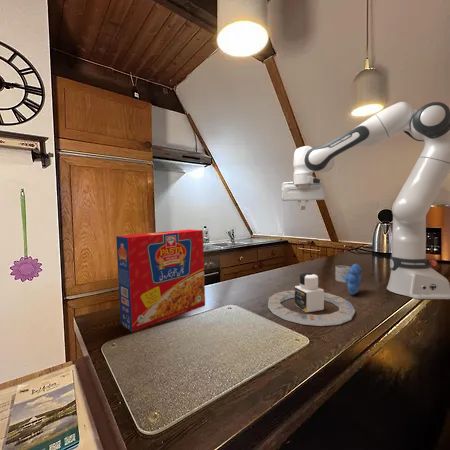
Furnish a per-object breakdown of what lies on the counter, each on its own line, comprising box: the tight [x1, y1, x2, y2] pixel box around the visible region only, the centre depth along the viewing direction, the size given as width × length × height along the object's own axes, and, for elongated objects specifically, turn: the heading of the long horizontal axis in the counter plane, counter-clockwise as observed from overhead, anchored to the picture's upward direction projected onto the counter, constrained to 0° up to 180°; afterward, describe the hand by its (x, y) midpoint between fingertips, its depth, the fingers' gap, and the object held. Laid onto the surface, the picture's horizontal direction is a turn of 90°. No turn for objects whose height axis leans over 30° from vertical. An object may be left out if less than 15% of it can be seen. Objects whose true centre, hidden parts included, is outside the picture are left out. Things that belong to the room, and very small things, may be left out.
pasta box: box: [115, 229, 206, 333], centre depth 85 cm, size 28×8×28 cm, turn 135°
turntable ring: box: [267, 289, 356, 327], centre depth 88 cm, size 28×28×2 cm
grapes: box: [343, 263, 363, 296], centre depth 102 cm, size 12×7×12 cm, turn 137°
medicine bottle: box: [294, 272, 325, 313], centre depth 88 cm, size 7×7×12 cm
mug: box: [334, 264, 351, 284], centre depth 121 cm, size 10×7×7 cm
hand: (303, 209), depth 122 cm, fingers closed
